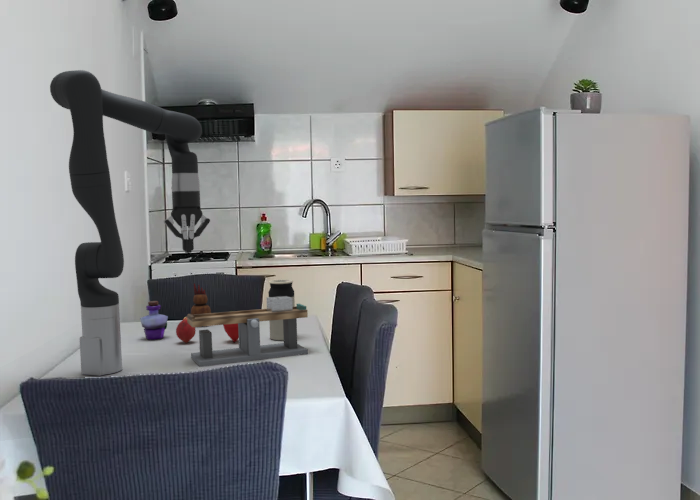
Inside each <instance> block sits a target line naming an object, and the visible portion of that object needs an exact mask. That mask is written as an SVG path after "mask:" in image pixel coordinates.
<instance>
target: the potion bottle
mask: <svg viewBox="0 0 700 500" xmlns="http://www.w3.org/2000/svg"><path fill="white" fill-rule="evenodd" d="M145 308H146V311H148V315H145V316H142V317H140V318H139V320H140V323H141V327H142V328H143V332H144V336H145V339H148V340H147V341H158V340H163V339H164V338H165V337H164V335H165V331H166V329H167V328H168V319H169V316H168V315H165V314H160V313H159V310H162V309H161V308H162V305H161V304H159V301H158V300H152V301H147V305H146V307H145Z"/></svg>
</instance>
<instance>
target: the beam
mask: <svg viewBox="0 0 700 500" xmlns="http://www.w3.org/2000/svg"><path fill="white" fill-rule="evenodd" d="M231 311H232V310H231ZM231 311H221V312H211V313H207V314H194V315H191V313H188V314H187V315H186V317H187V323H188V324H189V325H191V326H192V327H195V328H199V327H201V328H202V326H203V327H211V326H212V327H214V326H222V325H225V324H237V323H247V319H254V318H258V319H259V323H260V322H269V321H271V320H283V319H294V318H297V319H301V318H302V319H303V318H308V316H309V315H308V309H307V306H306V305H304V304H301V303H296V306H295V307H293V311H282V312H270V313H269V312H267V308H261V309H259V308H258V309H249V310H237V311H235V310H233V311H232V312H231Z"/></svg>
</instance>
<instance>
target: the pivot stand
mask: <svg viewBox="0 0 700 500" xmlns="http://www.w3.org/2000/svg"><path fill="white" fill-rule="evenodd" d="M297 319H298V318H294V319H283V334H284V340H283V342H280V343H273V344H272V343H271V344H262V345H261V334H260V331H261V330H260V328H261V327H260V322H259V319H258V318H254V319H247V323H238V334H239V338H238V347H234V348H226V349H225V348H224V349H217V350H216V349H215V350H213V339H212V338H213V335H212V331H211V330H209V329H199V330H198V339H199V343H198V344H199V351H197V352H191V353H190V357H191V359H192V360H193V361H194V362H195V364H196V365H197V366H198V367H199V366H201V367H209V366H216V365H225V363H226V364H235V363H240V362H248V361H249V362H251V361H259V360H265V359H266V360H267V359H275V358H283V357H292V356H299V355H301V356H302V355H308V354H309V353H308V349H307V348H305V347H304V346H302V345H300V344H299V343H298V325H297V324H298V323H297V322H298V321H297ZM234 362H235V363H234Z"/></svg>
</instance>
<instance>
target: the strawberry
mask: <svg viewBox="0 0 700 500" xmlns="http://www.w3.org/2000/svg"><path fill="white" fill-rule="evenodd" d="M230 312H232V310H230ZM223 329H224V331H225V333H226V334H227V336H228V338H230V339H231V341H232V342H233V343H236V342H237V341H239V334H238V323H237V324H225V325H223Z"/></svg>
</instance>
